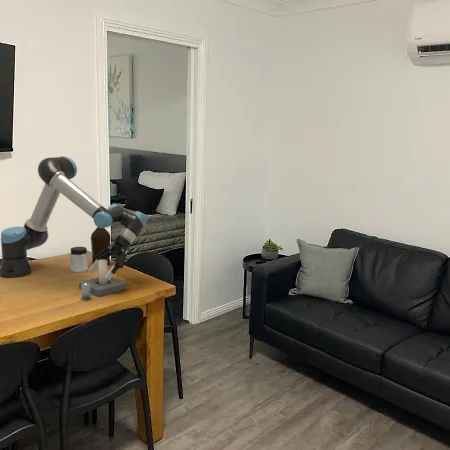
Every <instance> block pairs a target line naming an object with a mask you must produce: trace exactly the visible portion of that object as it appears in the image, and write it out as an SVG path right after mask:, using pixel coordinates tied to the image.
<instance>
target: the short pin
mask: <svg viewBox="0 0 450 450" xmlns="http://www.w3.org/2000/svg"><path fill="white" fill-rule="evenodd" d="M80 290H81V291H80V296H81V300H83V301H87V300H91V299H92V294H91V285H90V282H83V283H81V289H80Z"/></svg>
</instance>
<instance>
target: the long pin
mask: <svg viewBox="0 0 450 450" xmlns="http://www.w3.org/2000/svg"><path fill="white" fill-rule="evenodd" d="M107 273H108V265H107V260H106V259H100V260H98V278H99V285H105V284H107V278H106V277H105V276H106V275H107Z"/></svg>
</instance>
